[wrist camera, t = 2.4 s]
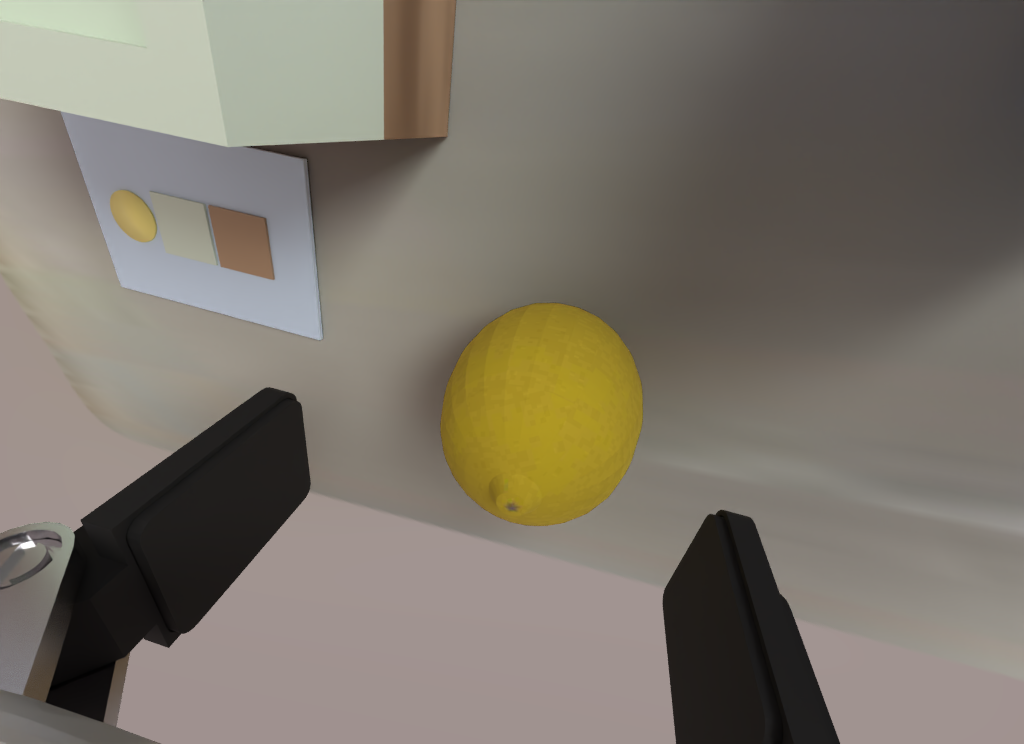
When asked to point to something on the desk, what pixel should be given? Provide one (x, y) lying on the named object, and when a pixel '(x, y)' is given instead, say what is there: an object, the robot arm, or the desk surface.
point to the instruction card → (204, 222)
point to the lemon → (542, 414)
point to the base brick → (417, 67)
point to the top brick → (203, 66)
